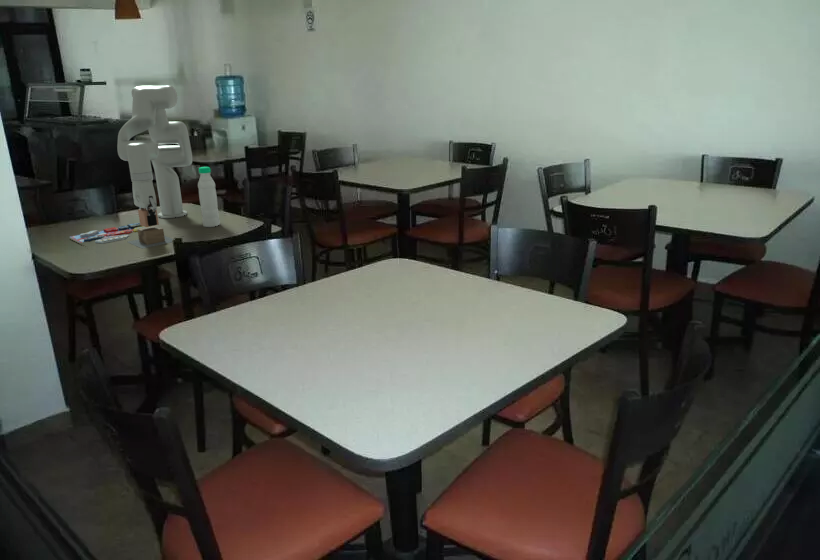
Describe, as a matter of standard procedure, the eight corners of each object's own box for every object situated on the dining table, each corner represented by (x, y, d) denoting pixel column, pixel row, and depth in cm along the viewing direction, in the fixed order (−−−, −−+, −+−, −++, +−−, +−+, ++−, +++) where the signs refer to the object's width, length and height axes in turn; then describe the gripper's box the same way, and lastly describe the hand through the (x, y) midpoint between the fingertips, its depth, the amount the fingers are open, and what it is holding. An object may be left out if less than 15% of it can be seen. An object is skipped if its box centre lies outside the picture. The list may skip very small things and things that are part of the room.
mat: (127, 244, 238) (126, 241, 238) (162, 237, 248) (161, 234, 247) (142, 251, 229) (142, 248, 229) (178, 243, 238) (177, 240, 238)
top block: (140, 225, 236) (137, 209, 234) (153, 222, 239) (150, 207, 237) (146, 227, 232) (143, 211, 230) (158, 224, 236) (156, 209, 234)
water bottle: (217, 227, 261) (209, 168, 253) (200, 227, 261) (192, 168, 253) (222, 223, 268) (215, 165, 259) (206, 223, 268) (198, 166, 260)
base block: (139, 241, 238) (137, 229, 236) (157, 237, 243) (155, 225, 241) (147, 244, 233) (145, 232, 232) (165, 241, 238) (163, 228, 236)
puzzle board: (90, 251, 232) (89, 244, 232) (69, 240, 248) (68, 234, 247) (168, 235, 253) (167, 228, 252) (144, 226, 268) (143, 220, 267)
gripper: (122, 175, 233) (130, 222, 239) (141, 180, 222) (149, 229, 228) (142, 173, 238) (149, 219, 244) (161, 177, 227) (169, 225, 233)
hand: (149, 223), depth 236 cm, fingers closed on top block, 4 cm apart
